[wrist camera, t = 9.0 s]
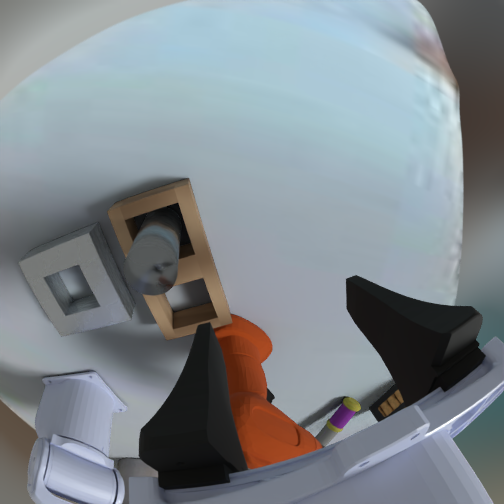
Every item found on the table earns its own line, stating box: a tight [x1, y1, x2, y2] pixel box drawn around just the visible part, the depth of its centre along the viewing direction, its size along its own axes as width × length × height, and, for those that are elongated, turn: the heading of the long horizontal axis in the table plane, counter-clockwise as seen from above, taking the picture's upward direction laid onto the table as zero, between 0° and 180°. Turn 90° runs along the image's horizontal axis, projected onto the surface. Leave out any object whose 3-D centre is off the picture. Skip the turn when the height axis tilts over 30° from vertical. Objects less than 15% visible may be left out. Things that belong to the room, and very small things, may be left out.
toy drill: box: [213, 314, 324, 469], centre depth 22 cm, size 5×19×15 cm, turn 43°
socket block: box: [18, 222, 135, 337], centre depth 20 cm, size 8×8×2 cm
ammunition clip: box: [369, 384, 406, 422], centre depth 35 cm, size 11×2×12 cm, turn 144°
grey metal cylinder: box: [123, 207, 182, 296], centre depth 17 cm, size 3×3×8 cm
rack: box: [107, 178, 233, 340], centre depth 21 cm, size 12×6×2 cm, turn 13°
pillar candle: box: [117, 458, 158, 504], centre depth 31 cm, size 10×10×15 cm
